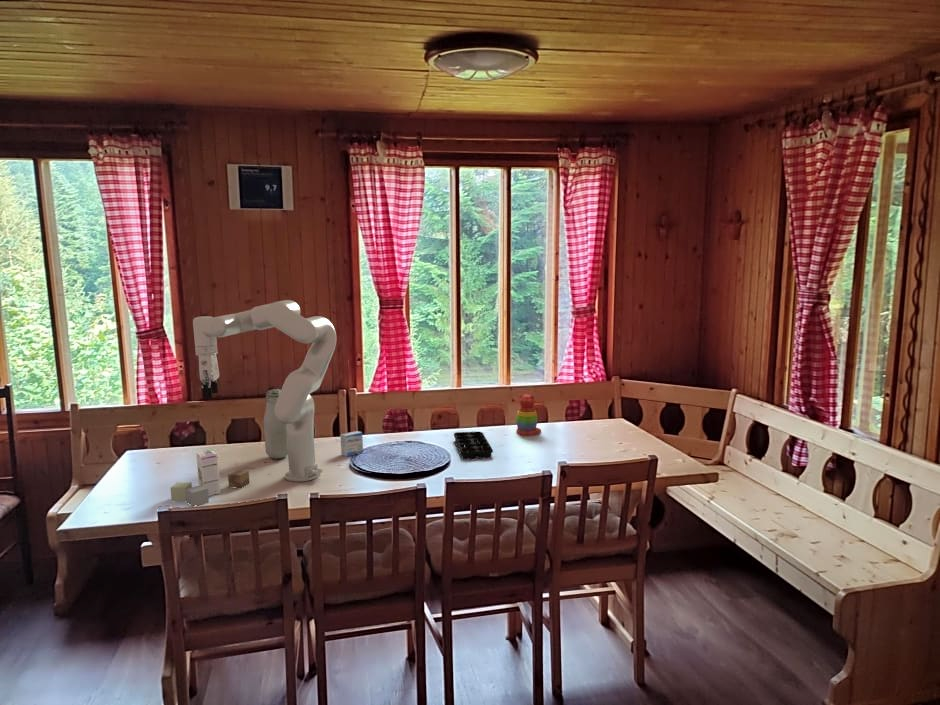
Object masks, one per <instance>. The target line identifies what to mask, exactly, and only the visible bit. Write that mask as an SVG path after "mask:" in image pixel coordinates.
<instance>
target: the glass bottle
mask: <svg viewBox="0 0 940 705" xmlns="http://www.w3.org/2000/svg"><path fill="white" fill-rule="evenodd" d="M280 392H281V389H280V388H274V389H270V390H267V391H266V392H265V401H266V402H265V403H266V404H265V405H266V406H265V411H264V415H263V430H264V433H263V434H264V445H265V446H264V448H265V454H266V456H268V457H269V458H270V459H277V460H278V458H279V459H283V458H285V457H288V445H287V424H283V423H281V422H279V421H278V420H277V418H276V416H275V411H274V410H275V404H276V402H277V399H278V397H279V394H280Z"/></svg>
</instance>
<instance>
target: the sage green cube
mask: <svg viewBox="0 0 940 705" xmlns="http://www.w3.org/2000/svg"><path fill="white" fill-rule="evenodd" d="M192 487H193V482H192V481H188V482H187V481H185V482H183V481H181V482H178V481H177V482H176V483H174V484H173V485H172V486H171V487H170V498H171V499H170V500H171V502H172V501H187V499H186V489H189V488H192Z"/></svg>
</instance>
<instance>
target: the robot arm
mask: <svg viewBox="0 0 940 705" xmlns="http://www.w3.org/2000/svg"><path fill="white" fill-rule="evenodd" d="M192 327H193V338H194V347H195V348H194V350H195V356H198V371H199V380H200V382H201V393H202V395H201V396H202V400H210V399H213V394H218V393H219V387H218V379H219V378H220V370H219V362H218V357H217V355H218V354H219V351H218V341H217V340H218V338H225V337H228V336H233V335H238V334H241V333H246V332H250V331H255V330H258V331H263V330H268V329H272V328H275V329H277V330H278V331H280V332H282V333H283V334H285V335H286V336H288V337H290V338H291V339H293V340H294V341H296V342H299V343H301V344H311V343H312V344H311V346H310V347H309V349H308V350H307V352H306V355H305V358H304V360H303V362H302V364H301V366H300V367H299V368H298V369H295V370H294V371H291V372H290V373H289V374H288V376H287V377H286V378H285V380H284V383H283V385H282V388H281V389H280V390H281V392H280V394H279V397H278V399H277V402H276V404H275V410H274V411H275V416H276V418H277V420H278V421H279V422H281V423H283V424H287V445H288V455H287V458H288V459H287V460H288V471H287V472H286V473H285V474H284V478H285V480H286V481H290V482H295V483H296V482H300V483H301V482H308V481H311V480H314V479H317V478H319V477H320V476H321V474H322V473H323V469H322V468H318V463H316V454H315V453H316V451H315V436H314V435H315V433H314V432H315V431H314V428H315V426H314V421H315V420H314V418H315V401H314V399H313V397H312V395H311V394H313V392H316V391H317V390H318V389H319V388H320V387H321V385H322V382H323V380H324V377H325V375H326V372H327V370H328V367H329V364H330V363H331V362H330V361H331V360H332V357H333V354H334V352H335V350H336V345H337V338H338V337H337V332H336V329H335V327H334V325H333V323H332V321H330V320H329V319H328V318H326V317H324V316H321V315H319V316H318V315H316V316H309V317H307V318H305V317H303V315H301V307H300V305H299V304H298V303H297V302H295V301H294V300H290V299H284V300H279V301H274V302H271V303H268V304H267V303H266V304H263V305H259V306H258V305H257V306H254V307H253V308H251V309H249V310H245V311H240V312H236V313H230V314H225V315H220V316H215V317H213V316H210V315H209V316H208V315H206V316H197V317H195V318H193V320H192Z"/></svg>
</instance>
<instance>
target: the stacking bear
mask: <svg viewBox="0 0 940 705" xmlns="http://www.w3.org/2000/svg"><path fill="white" fill-rule="evenodd" d="M535 402H536V401H535V395H533V394H527V393H525V394H523V393H522V394H520V395H519V405H520V406H519V408H518V410H517V413H516V418H515V419H516V420H515V421H516V426H517V428H516V431H515V432H516V434H517V435H518V436H522V437H532V436H537V435H539V434H540V433H541V432H542V430H541V428H539V427H537V424H538V414H537V411H536V408H535V407H534V405H535Z"/></svg>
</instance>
